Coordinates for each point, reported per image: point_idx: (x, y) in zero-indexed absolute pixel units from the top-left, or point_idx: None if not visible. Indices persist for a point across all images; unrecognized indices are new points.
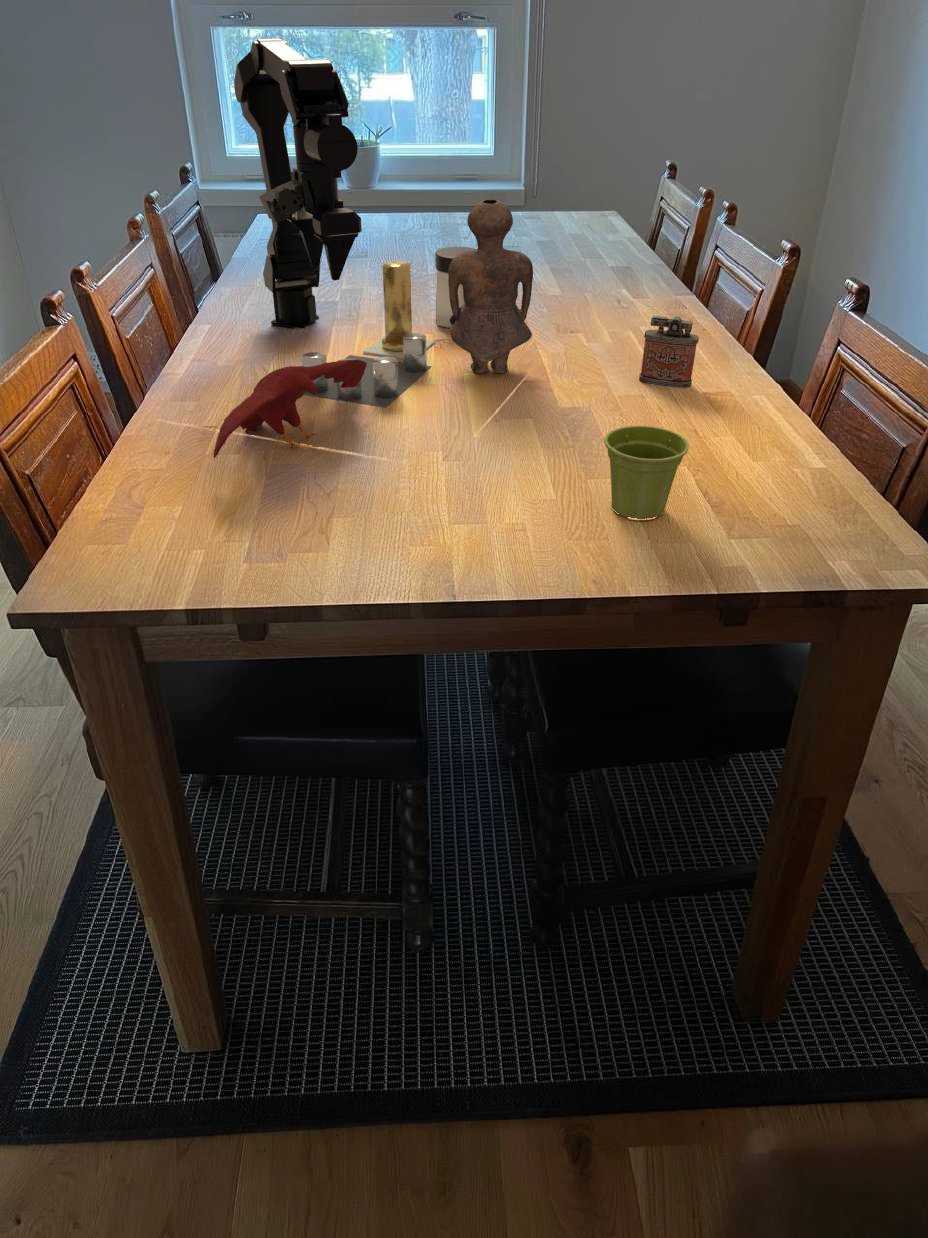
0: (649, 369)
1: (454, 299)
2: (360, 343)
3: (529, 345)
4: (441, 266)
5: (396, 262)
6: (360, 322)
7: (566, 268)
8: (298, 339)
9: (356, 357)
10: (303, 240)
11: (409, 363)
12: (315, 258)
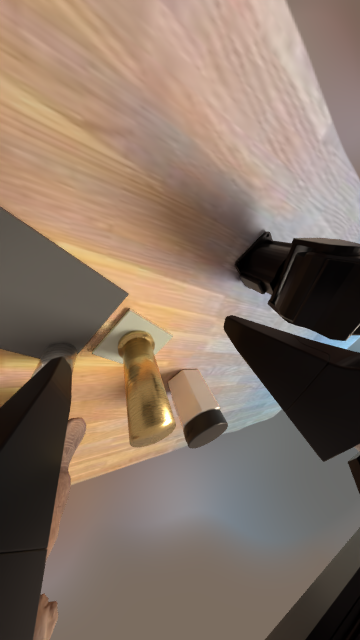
0: None
1: None
2: (168, 311)
3: (117, 416)
4: (200, 419)
5: (167, 430)
6: (220, 320)
7: (230, 414)
8: (210, 249)
9: (116, 299)
10: (304, 340)
11: (43, 354)
12: (236, 334)
